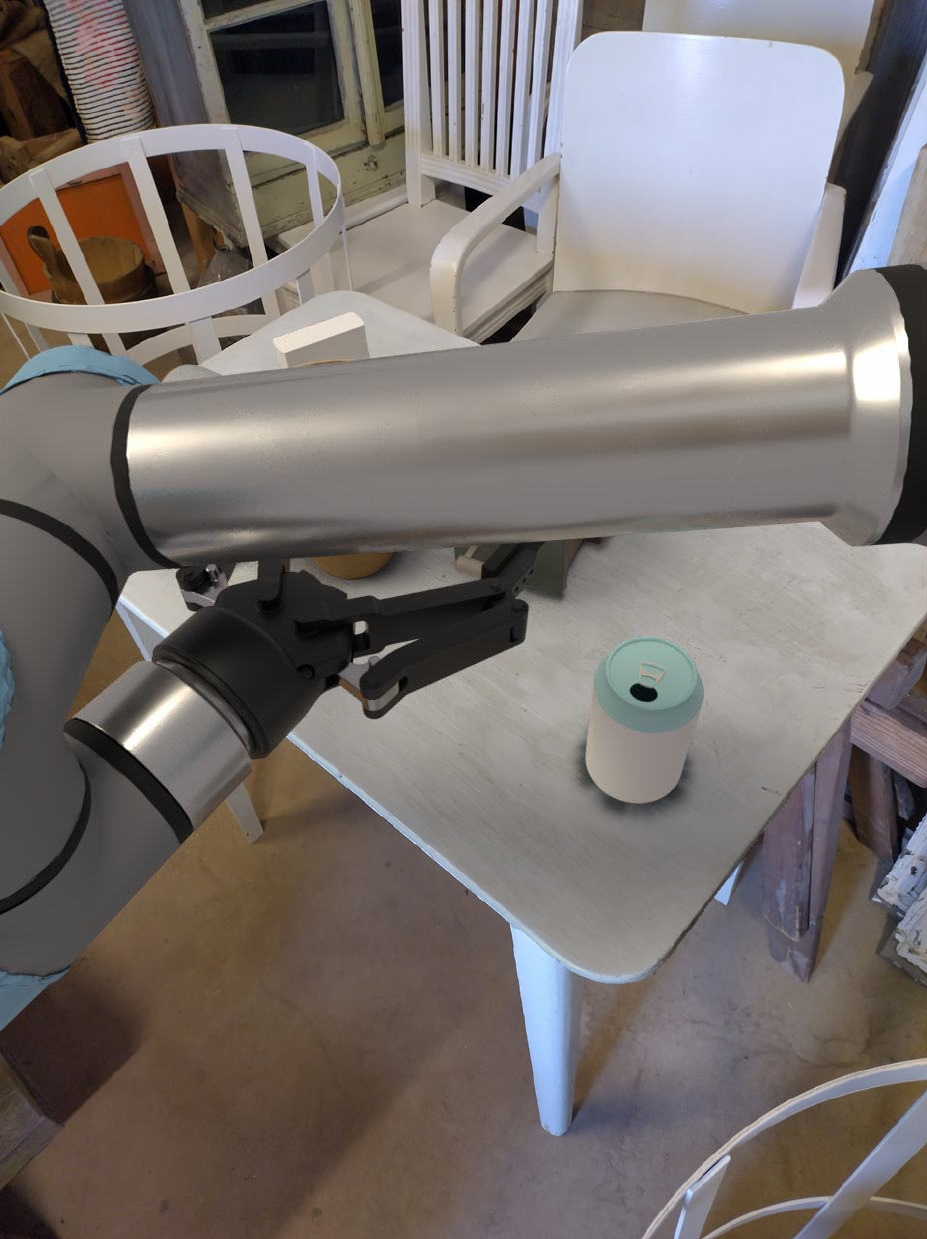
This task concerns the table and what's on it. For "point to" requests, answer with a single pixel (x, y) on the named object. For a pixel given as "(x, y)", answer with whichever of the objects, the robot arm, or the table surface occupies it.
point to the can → (642, 718)
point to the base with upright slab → (324, 342)
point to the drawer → (547, 570)
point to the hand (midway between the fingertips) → (451, 475)
